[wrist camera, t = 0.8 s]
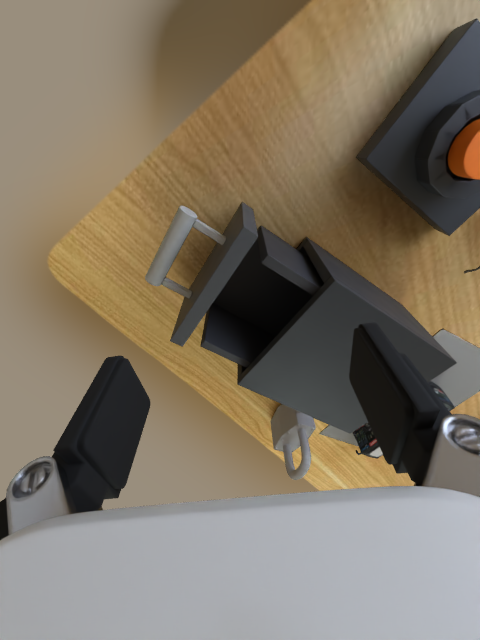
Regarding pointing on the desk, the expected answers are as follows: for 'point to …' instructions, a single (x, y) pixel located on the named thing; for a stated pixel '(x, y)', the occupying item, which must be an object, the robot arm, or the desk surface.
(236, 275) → the drawer
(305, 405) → the dark grey cabinet
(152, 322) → the desk surface
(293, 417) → the padlock
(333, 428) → the grey desk mat
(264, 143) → the desk surface
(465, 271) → the eyeglasses
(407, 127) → the control block
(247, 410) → the desk surface
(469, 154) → the button
